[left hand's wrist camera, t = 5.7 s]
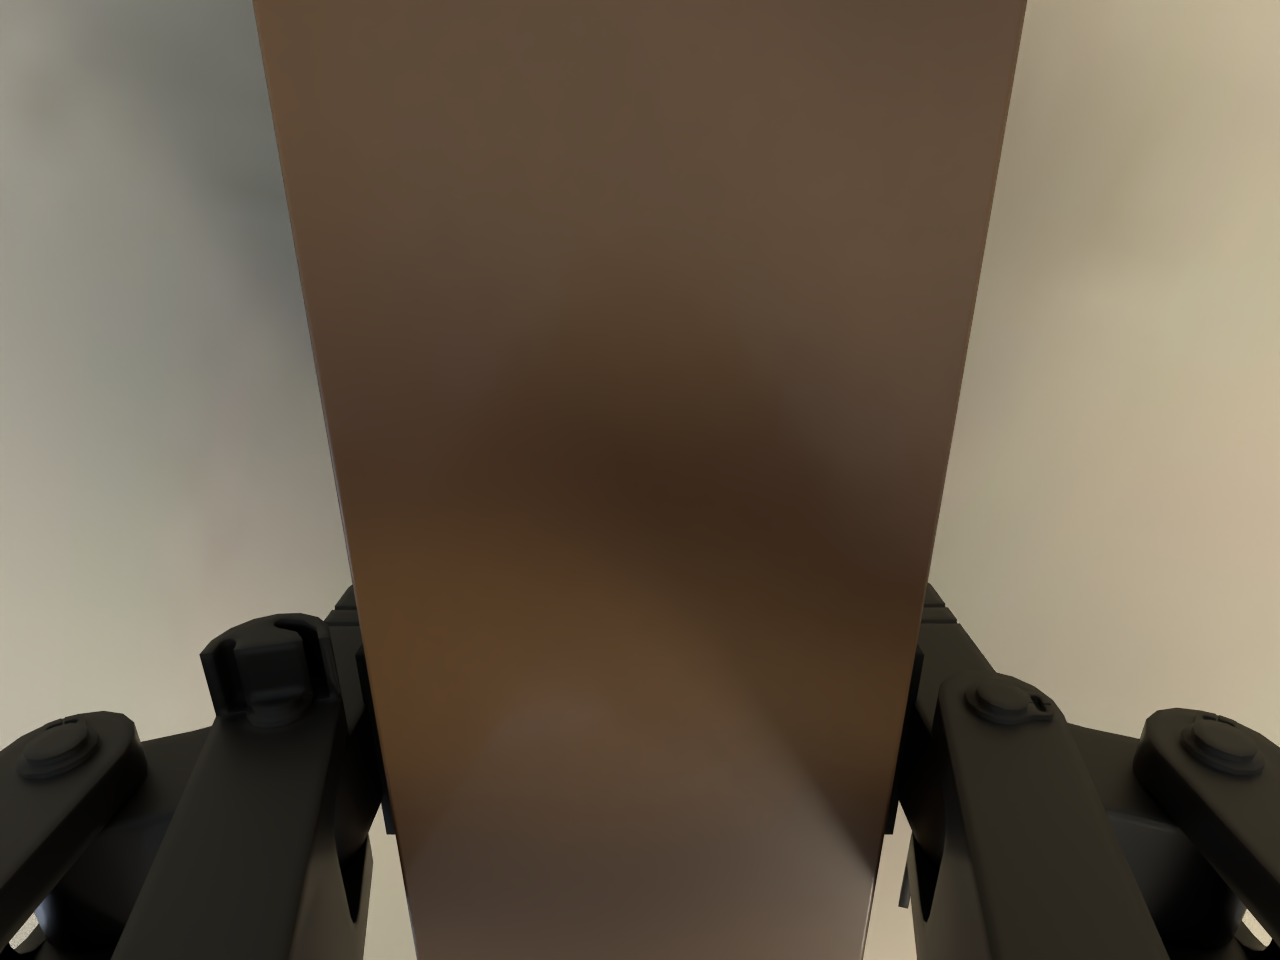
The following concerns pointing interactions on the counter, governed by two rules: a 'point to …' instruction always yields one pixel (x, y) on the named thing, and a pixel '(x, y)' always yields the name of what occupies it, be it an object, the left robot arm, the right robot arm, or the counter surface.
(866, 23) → the beam
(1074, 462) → the counter surface
